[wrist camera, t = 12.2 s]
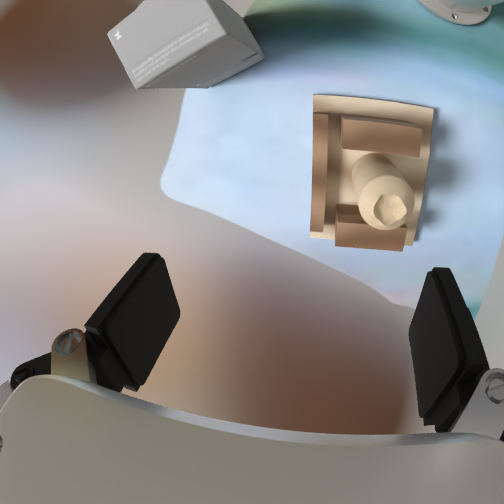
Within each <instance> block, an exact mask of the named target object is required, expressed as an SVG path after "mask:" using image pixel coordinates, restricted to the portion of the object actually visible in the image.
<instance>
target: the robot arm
mask: <svg viewBox="0 0 504 504" xmlns="http://www.w3.org/2000/svg"><path fill="white" fill-rule="evenodd" d="M417 1H418V2H419V3H420V4H421V5H422V6H424V7H425V8H426V9H427V10H428V11H430V12H431V13H433V14H435V15H436V16H438V17H440V18H442V19H444V20H446V21H448V22H451V23H454V24H459V25H472V24H477V23H479V22H482V21H483V20H485V19H486V18H487V17H488V16H489V14H490V12H491V9H492V5H495V4H498V3H502V2H504V0H417ZM452 16H453V17H452ZM179 318H180V308H179V305H178V302H177V299H176V296H175V293H174V290H173V286H172V283H171V280H170V277H169V273H168V270H167V267H166V263H165V260H164V259H163V258H162V257H161V256H160V255H159V254H158V253H143V254H142V255H141V256H140V257H139V258H138V260H137V261H136V262H135V263H134V264H133V265H132V267H131V268H130V269H129V270H128V271H127V273H126V274H125V275H124V276H123V277H122V278H121V280H120V281H119V282H118V283H117V285H116V286H115V287H114V288H113V289H112V291H111V292H110V293H109V294H108V296H107V297H106V298H105V299H104V301H103V302H102V303H101V304H100V306H99V307H98V308H97V310H96V311H95V312H94V313H93V314H92V316H91V317H90V319H89V320H88V321H87V323H86V324H85V325H84V326H85V328H86V329H87V330H86V332H85V333H84V332H83V331H82V330H80V329H77V328H72V329H68V330H66V331H64V332H62V333H61V334H59V335H58V336H57V338H56V339H55V340H54V342H53V344H52V351H51V352H50V353H48V354H45V355H42V356H40V357H38V358H35V359H33V360H30V361H28V362H25V363H23V364H21V365H20V366H18V367H17V368H16V369H15V370H14V372H13V374H12V376H11V381H10V382H9V381H7V382H5V383H3V384H2V385H1V386H0V504H504V370H503V369H499V368H493V369H490V368H489V364H488V361H487V358H486V355H485V351H484V349H483V346H482V342H481V340H480V337H479V334H478V331H477V328H476V326H475V323H474V320H473V318H472V315H471V312H470V310H469V309H468V308H467V306H466V304H465V301H464V299H463V297H462V294H461V292H460V290H459V287H458V285H457V283H456V280H455V278H454V276H453V274H452V272H451V270H450V268H441V267H434V268H433V269H432V271H429V272H428V273H427V275H426V279H425V282H424V286H423V289H422V292H421V295H420V298H419V301H418V304H417V307H416V310H415V313H414V316H413V319H412V322H411V325H410V328H409V341H410V346H411V353H412V360H413V366H414V374H415V382H416V390H417V400H418V411H419V416H420V418H423V420H424V426H427V425H435V431H436V433H424V434H406V435H405V434H404V435H341V434H340V435H339V434H322V433H309V432H297V431H288V430H280V429H272V428H264V427H258V426H251V425H245V424H239V423H233V422H228V421H223V420H218V419H213V418H209V417H204V416H200V415H195V414H191V413H187V412H183V411H179V410H175V409H171V408H168V407H164V406H161V405H157V404H154V403H150V402H147V401H144V400H140V399H137V398H134V397H131V396H128V395H125V394H122V389H123V387H125V388H126V389H129V390H132V391H135V392H137V391H138V389H139V387H140V385H143V384H144V383H145V382H146V380H147V377H148V376H149V374H150V372H151V370H152V368H153V367H154V365H155V363H156V361H157V359H158V357H159V355H160V353H161V352H162V350H163V348H164V346H165V344H166V342H167V340H168V338H169V337H170V335H171V333H172V331H173V329H174V328H175V326H176V324H177V322H178V320H179Z"/></svg>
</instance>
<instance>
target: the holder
mask: <svg viewBox="0 0 504 504" xmlns="http://www.w3.org/2000/svg"><path fill="white" fill-rule="evenodd" d="M432 123H433V109H432V108H428V107H423V106H417V105H411V104H405V103H399V102H392V101H385V100H377V99H368V98H359V97H348V96H334V95H315V94H313V165H312V200H311V223H310V238H323V239H335V246H339V247H352V248H365V249H378V250H390V251H403V247H404V245H409V246H412V245H413V241H414V237H415V233H416V228H417V224H418V219H419V214H420V209H421V204H422V199H423V193H424V187H425V181H426V175H427V168H428V161H429V153H430V144H431V134H432ZM369 153H378V154H381V155H384V156H386V157H387V158H389V159H390V160H391V161H392V163H393V164H394V165H395V167H396V168H397V169H398V171H399V172H400V173H401V175H402V176H403V177H404V179H405V180H406V182H407V183H408V184H409V186H410V187H411V189H412V191H413V193H414V198H415V206H414V210H413V213H412V215H411V216H410V218H409V219H408V220H407V221H406V222H405V223H404V224H403V225H402V226H400V227H398V228H395V229H392V230H380V229H376V228H374V227H372V226H370V225H369V224H368V223H366V222H365V220H364V219H363V218H362V216H361V214H360V211H359V207H358V203H357V198H356V194H355V190H354V186H353V182H352V169H353V166H354V164H355V162H356V161H357V160H358V159H359V158H360V157H362V156H363V155H366V154H369Z"/></svg>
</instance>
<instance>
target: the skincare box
mask: <svg viewBox="0 0 504 504" xmlns="http://www.w3.org/2000/svg"><path fill="white" fill-rule="evenodd" d="M108 37H109V39H110V41H111V43H112V45H113V46H114V49H115V51H116V52H117V54H118V56H119V58H120V60H121V62H122V64H123V65H124V67H125V69H126V71H127V73H128V75H129V77H130V79H131V81H132V83H133V85H134V87H135V88H136V89H137V90H138V89H150V88H151V89H152V88H209V87H211V86H213V85H215V84H217V83H219V82H221V81H223V80H225V79H227V78H229V77H231V76H233V75H234V74H236V73H238V72H240V71H242V70H244V69H246V68H248V67H250V66H252V65H254V64H255V63H257V62H259V61H261V60H263V59H264V58H265V56H264V54H263V52H262V50H261V48H260V47H259V45H258V43H257V41H256V40H255V38H254V36H253V35H252V33H251V31H250V30H249V28H248V27H247V25H246V24H245V22H244V20H243V19H242V17H241V16H240V15H239V14H238V13H236V12H235V11H234V10H233V9H232V8H231V7H230V6H228V5H227V4H226V3H225V2H224V1H223V0H145V1H143V2H142V3H141V4H140V5H139V6H138V8H137V9H136V11H134V12H133V13H131V14H130V15H129V16H127V17H126V18H125V19H124V20H122V21H121V22H120V23H119V24H118V25H116V26H115V27H114V28H113V29H112V30H111V31H109V32H108Z"/></svg>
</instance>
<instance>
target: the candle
mask: <svg viewBox="0 0 504 504" xmlns="http://www.w3.org/2000/svg"><path fill="white" fill-rule="evenodd" d="M352 182H353V186H354V190H355V194H356V198H357V203H358V207H359V211H360V214H361V216H362V218H363V219H364V220H365V222H366V223H368V224H369V225H370V226H372V227H374V228H376V229H380V230H392V229H395V228H398V227H400V226H402V225H403V224H404V223H405V222H406V221H407V220H408V219H409V218H410V216H411V215H412V213H413V210H414V206H415V198H414V193H413V191H412V189H411V187H410V186H409V184H408V183H407V182H406V180H405V179H404V177H403V176H402V175H401V173H400V172H399V171H398V169H397V168H396V167H395V165H394V164H393V163H392V161H391V160H390V159H389V158H387V157H386V156H384V155H381V154H378V153H369V154H366V155H363V156H362V157H360V158H359V159H358V160H357V161H356V162H355V164H354V166H353V169H352Z"/></svg>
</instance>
